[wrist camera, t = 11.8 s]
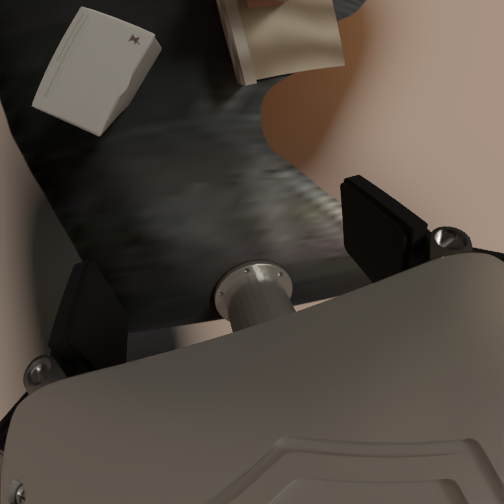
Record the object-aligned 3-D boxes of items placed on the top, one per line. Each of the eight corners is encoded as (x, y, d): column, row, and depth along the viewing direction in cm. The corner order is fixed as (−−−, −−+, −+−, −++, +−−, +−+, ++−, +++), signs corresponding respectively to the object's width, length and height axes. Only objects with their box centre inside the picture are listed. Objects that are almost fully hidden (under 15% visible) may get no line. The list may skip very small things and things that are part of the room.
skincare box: (118, 26, 25) (81, -2, 13) (166, 49, 28) (162, 32, 16) (82, 89, 28) (25, 106, 15) (129, 111, 31) (100, 139, 19)
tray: (342, 65, 33) (361, 67, 30) (237, 83, 32) (245, 85, 29) (314, -55, 23) (330, -65, 19) (202, -47, 22) (207, -60, 18)
